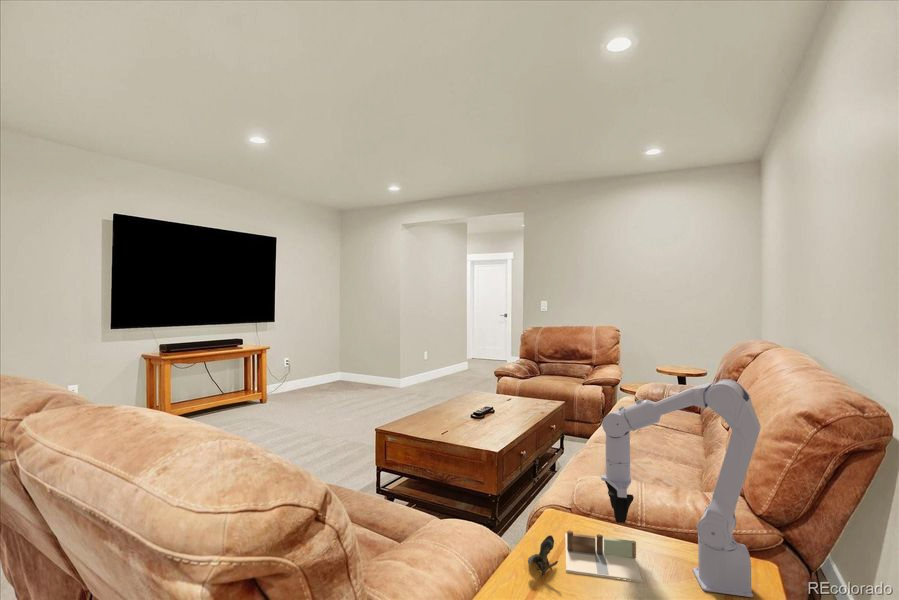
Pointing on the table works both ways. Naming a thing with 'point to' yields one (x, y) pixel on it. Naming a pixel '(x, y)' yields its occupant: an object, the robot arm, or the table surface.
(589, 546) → the fence
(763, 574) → the table surface
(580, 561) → the card
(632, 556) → the fence panel
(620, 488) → the robot arm
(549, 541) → the eagle figurine
